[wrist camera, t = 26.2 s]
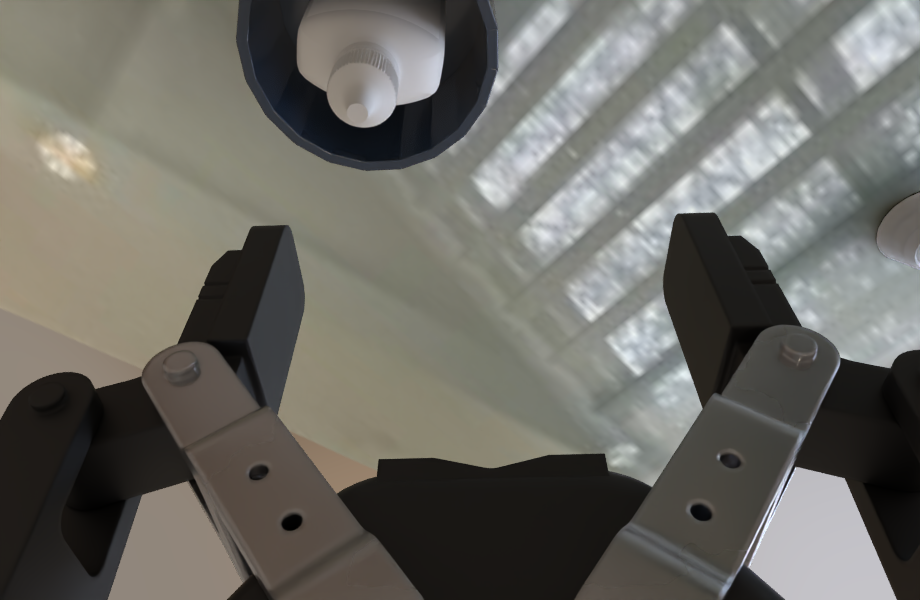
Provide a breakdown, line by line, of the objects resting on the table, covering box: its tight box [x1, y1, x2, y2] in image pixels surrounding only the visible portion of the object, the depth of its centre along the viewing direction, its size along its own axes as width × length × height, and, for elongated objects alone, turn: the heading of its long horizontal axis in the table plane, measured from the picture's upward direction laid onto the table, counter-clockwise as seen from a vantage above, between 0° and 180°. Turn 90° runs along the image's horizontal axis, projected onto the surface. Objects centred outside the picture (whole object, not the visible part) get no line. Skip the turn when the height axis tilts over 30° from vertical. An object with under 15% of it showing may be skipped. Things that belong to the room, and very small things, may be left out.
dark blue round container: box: [236, 0, 498, 171], centre depth 31 cm, size 10×10×7 cm
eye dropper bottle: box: [297, 0, 446, 128], centre depth 28 cm, size 4×6×12 cm
